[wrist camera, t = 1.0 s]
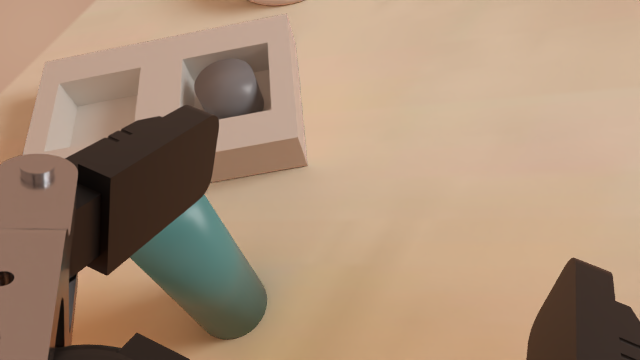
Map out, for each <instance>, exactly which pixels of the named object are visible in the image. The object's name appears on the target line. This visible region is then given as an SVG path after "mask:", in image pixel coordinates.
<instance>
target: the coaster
mask: <svg viewBox="0 0 640 360" xmlns="http://www.w3.org/2000/svg"><path fill="white" fill-rule="evenodd" d="M249 1H251V2H254V3H257V4H262V5H273V6H278V5H287V4H293V3H297V2H301V1H304V0H249Z"/></svg>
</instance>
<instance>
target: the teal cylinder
mask: <svg viewBox="0 0 640 360" xmlns="http://www.w3.org/2000/svg"><path fill="white" fill-rule="evenodd" d="M130 258H131V259H132V260H133V261H134V262H135V263H136V264H137V265H138V266H139V267H140V268H141V269H142V270H143V271H144V272H146V273H147V274H148V275H149V276H150V277H151V278H152V279H153V280H154V281H155V282H156V283H157V284H158V285H159V286H160V287H161V288H162V289H163V290H164V291H165V292H166V293H167V294H168V295H169V296H170V297H171V298H172V299H174V300H175V301H176V302H177V303H178V304H179V305H180V306H181V307H182V308H183V309H184V310H185V311H186V312H187V313H188V314H189V315H190V316H191V317H192V318H193V319H194V320H195V321H196V322H197V323H198V324H199V325H200V326H202V327H203V328H204V329H205V330H206V331H207V332H208V333H209V334H210V335H212V336H214V337H217V338H220V339H235V338H238V337H241V336H243V335H245V334H247V333H249V332H250V331H251V330H253V329H254V328H255V327H256V326H257V325H258V323H259V322H260V321H261V319H262V317H263V315H264V313H265V310H266V305H267V295H266V291H265V288H264V286H263V284H262V283H261V281H260V280H259V278H258V276H257V275H256V273H255V272H254V270H253V269H252V267H251V266H250V264H249V263H248V261H247V260H246V258H245V256H244V255H243V253H242V252H241V250H240V249H239V247H238V246H237V244H236V243H235V241H234V240H233V238H232V237H231V235H230V233H229V232H228V230H227V229H226V227H225V226H224V224H223V223H222V221H221V220H220V218H219V217H218V215H217V213H216V212H215V210H214V209H213V207H212V206H211V204H210V203H209V201H208V200H207V198H206V197H205V195H203V196H202V197H201V199H199V200H198V201H197V202H196V203H195V204H194V205H192V206H191V207H190V208H189V209H187V210H186V211H185V212H184V213H183V214H181V215H180V216H179V217H178V218H177V219H175V220H174V221H173V222H172V223H170V224H169V225H168V226H167V227H166V228H164V229H163V230H162V231H161V232H160V233H158V234H157V235H156V236H155V237H154V238H152V239H151V240H150V241H149V242H147V243H146V244H145V245H144V246H143V247H141V248H140V249H139V250H138V251H137V252H135V253H134V254H133V255H132V256H131V257H130Z"/></svg>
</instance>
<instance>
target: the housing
mask: <svg viewBox="0 0 640 360" xmlns="http://www.w3.org/2000/svg"><path fill="white" fill-rule="evenodd" d="M184 105H190V106H192V107H195V108H197V109H200V110H202V111H205V112H208V113H210V114H213V115H215V116H217V117H218V120H219V132H218V139H217V146H216V153H215V159H214V166H213V173H212V178H211V181H210V182H216V181H222V180H228V179H233V178H239V177H245V176H250V175H256V174H262V173H267V172H273V171H279V170H285V169H290V168H296V167H302V166H307V155H306V144H305V134H304V124H303V113H302V103H301V93H300V82H299V72H298V62H297V51H296V43H295V40H294V36H293V33H292V29H291V26H290V22H289V18H288V15H287V14H282V15H277V16H272V17H267V18H262V19H257V20H252V21H247V22H242V23H237V24H232V25H227V26H222V27H217V28H212V29H207V30H202V31H197V32H192V33H187V34H182V35H177V36H172V37H167V38H162V39H157V40H152V41H147V42H142V43H137V44H132V45H127V46H122V47H117V48H112V49H107V50H102V51H97V52H92V53H87V54H82V55H77V56H72V57H67V58H62V59H57V60H52V61H47V62H45V65H44V69H43V73H42V77H41V81H40V85H39V89H38V93H37V98H36V102H35V106H34V110H33V114H32V118H31V122H30V126H29V130H28V134H27V138H26V142H25V147H24V151H23V155H26V154H50V155H55V156H59V157H62V158H64V159H65V158H67V157H69V156H70V155H72V154H74V153H76V152H78V151H80V150H82V149H84V148H86V147H88V146H90V145H91V144H93V143H95V142H97V141H99V140H101V139H103V138H108V136H109V135H110V134H112V133H114V132H116V131H121V129H122V128H124V127H126V126H128V125H130V124H131V123H133V122H135V121H137V120H142V119H147V118H152V117H157V116H161V117H164V116H166V115H167V114H169V113H171V112H173V111H175V110H176V109H178V108H180V107H182V106H184Z"/></svg>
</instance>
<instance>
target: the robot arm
mask: <svg viewBox="0 0 640 360" xmlns="http://www.w3.org/2000/svg"><path fill="white" fill-rule="evenodd" d="M218 132H219V120H218V117H217V116H215V115H213V114H210V113H208V112H205V111H202V110H200V109H197V108H195V107H192V106H190V105H184V106H182V107H180V108H178V109H176V110H175V111H173V112H171V113H169V114H167V115H166V116H164V117H161V116H157V117H152V118H147V119H142V120H137V121H135V122H133V123H131V124H130V125H128V126H126V127H124V128H122V129H121V131H116V132H114V133H112V134H110V135H109V136H108V138H103V139H101V140H99V141H97V142H95V143H93V144H91V145H90V146H88V147H86V148H84V149H82V150H80V151H78V152H76V153H74V154H72V155H70V156H69V157H67V158H65V159H64V158H62V157H59V156H55V155H50V154H26V155H21V156H17V157H13V158H11V159H8V160H6V161H4V162H3V163H2V164H0V360H190V359H188V358H186V357H184V356H182V355H180V354H178V353H176V352H174V351H172V350H170V349H168V348H166V347H164V346H162V345H160V344H158V343H156V342H154V341H152V340H150V339H148V338H146V337H144V336H142V335H140V334H138V333H136V334H135V335H134V336H133V337H132V338H131V339H130V340H129V341H128V342H127V343H126V344H125V345H124V346H123V347H122V348H118V347H112V346H104V345H71V342H72V333H73V323H74V314H75V305H76V295H77V286H78V272H79V271H81V270H82V269H83V268H84V267H86V266H88V267H90V268H92V269H94V270H96V271H98V272H100V273H102V274H104V275H109V274H110V273H111V272H112V271H114V270H115V269H116V268H117V267H118V266H120V265H121V264H122V263H123V262H124V261H126V260H127V259H128V258H129V257H131V256H132V255H133V254H134V253H135V252H137V251H138V250H139V249H140V248H141V247H143V246H144V245H145V244H146V243H147V242H149V241H150V240H151V239H152V238H154V237H155V236H156V235H157V234H158V233H160V232H161V231H162V230H163V229H164V228H166V227H167V226H168V225H169V224H170V223H172V222H173V221H174V220H175V219H177V218H178V217H179V216H180V215H181V214H183V213H184V212H185V211H186V210H187V209H189V208H190V207H191V206H192V205H194V204H195V203H196V202H197V201H198V200H199V199H201V197H202V196H203V195H204V194H205V192H206V190H207V188H208V186H209V184H210V181H211V178H212V173H213V166H214V159H215V153H216V146H217V139H218ZM527 360H640V321H639V320H638V318H637V317H636V315H635V313H634V312H633V310H632V309H631V307H629V306H627V305H624V304H622V303H619V302H617V301H615V294H614V284H613V276H612V273H611V272H609V271H606V270H604V269H601V268H599V267H596V266H594V265H591V264H589V263H586V262H584V261H581V260H579V259H576V258H571V259H570V260H569V261H568V263H567V264H566V265H565V267H564V269H563V271H562V272H561V274H560V276H559V278H558V279H557V281H556V283H555V285H554V286H553V288H552V290H551V292H550V293H549V295H548V297H547V299H546V300H545V302H544V304H543V306H542V307H541V309H540V311H539V313H538V315H537V317H536V319H535V321H534V324H533V326H532V329H531V332H530V336H529V340H528V349H527Z"/></svg>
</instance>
